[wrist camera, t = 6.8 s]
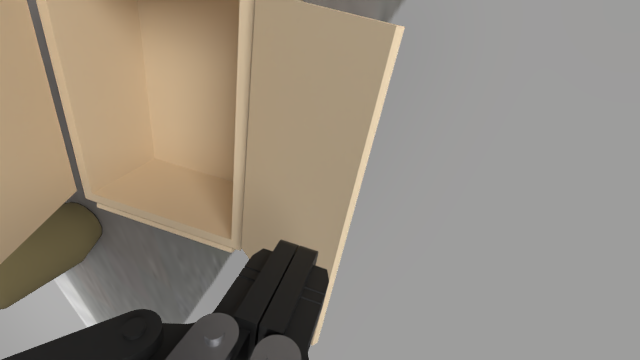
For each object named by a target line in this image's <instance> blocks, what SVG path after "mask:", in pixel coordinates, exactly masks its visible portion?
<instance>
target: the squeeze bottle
mask: <svg viewBox="0 0 640 360" xmlns="http://www.w3.org/2000/svg"><path fill="white" fill-rule="evenodd" d="M101 234H102V228H101V225H100V223H99V221H98V219H97V218H96V217H95V216H94V214H93V213H92V212H91V211H89V210H88V209H87V208H86V207H84V206H82V205H80V204H78V203H71V202H70V203H65V204H63V205H61V206H60V207H59V208H58V209H57V210H56V211H55V212H54V213H53V214H52V215H51V216H50V217H49V218H48V219H47V220H46V221H45V222H44V223H43V224H42V225H41V226H40V227H39V228H38V229H37V230H35V231H34V232H33V233H32V234H31V235H30V236H29V237H28V238H27V239H26V240H25V241H24V242H23V243H22V244H21V245H20V246H19V247H18V248H17V249H16V250H15V251H14V252H13V253H12V254H11V255H9V256H8V257H7V258H6V259H5V260H4V261H3V262H2V263H1V264H0V309H5V308H7V307H9V306H11V305H12V304H14V303H16V302H17V301H19V300H20V299H22V298H24V297H25V296H27V295H28V294H30V293H32V292H33V291H35V290H37V289H38V288H40V287H41V286H43V285H45V284H46V283H48V282H50V281H51V280H53V279H54V278H56V277H58V276H59V275H61V274H63V273H64V272H66V271H67V270H69V269H71V268H72V267H74V266H76V265H77V264H79V263H80V262H82V261H83V260H84V259H85V257H86V256H87V254H88V253H89V252H90V250H91V249H92V248H93V246H94V245H95V243H96V242H97V241H98V239H99V238H100V236H101Z"/></svg>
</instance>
